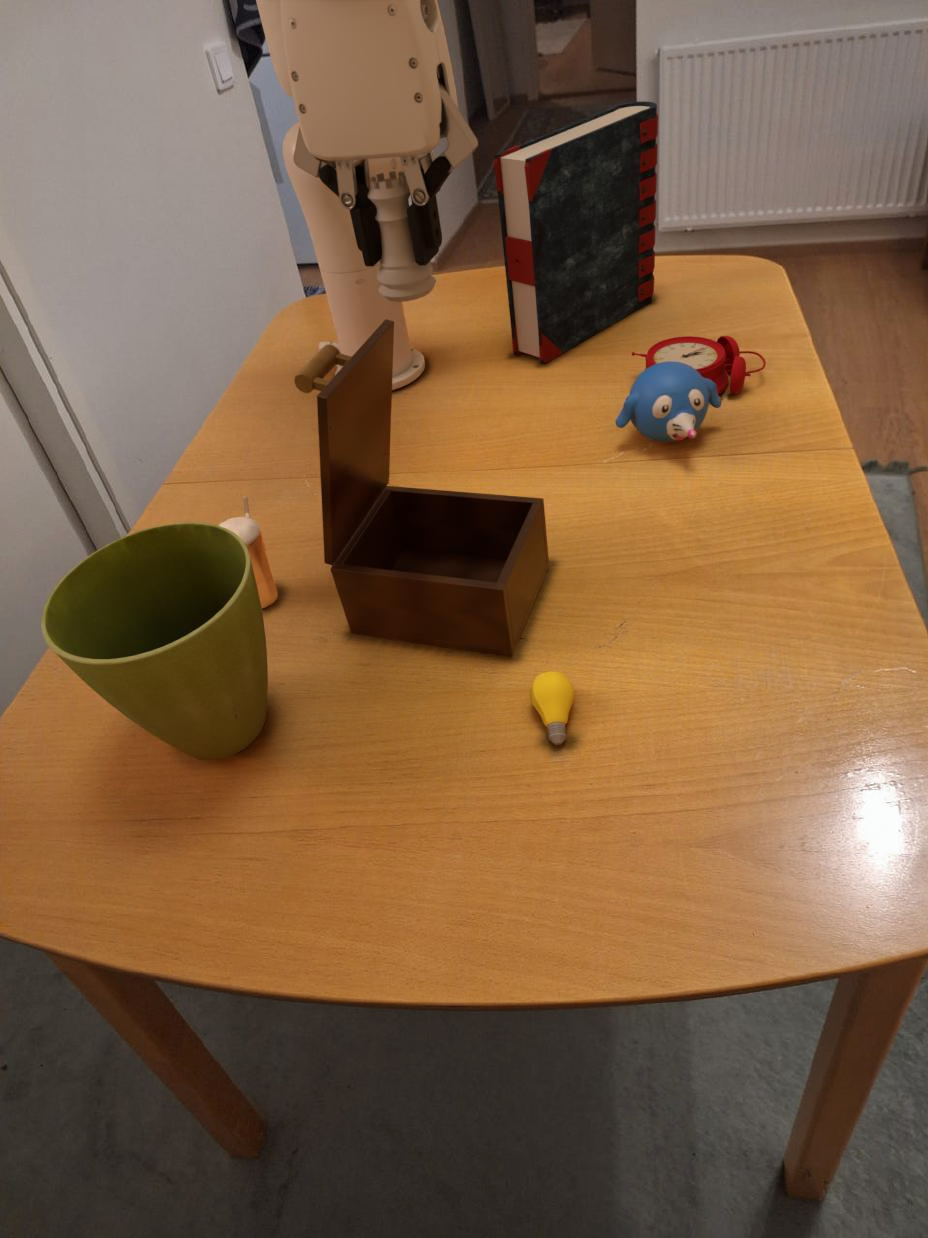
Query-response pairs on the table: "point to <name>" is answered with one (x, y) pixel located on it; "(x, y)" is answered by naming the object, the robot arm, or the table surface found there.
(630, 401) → the blue dog toy
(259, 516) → the table surface
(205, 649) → the flower pot
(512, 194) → the book
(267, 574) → the milkshake
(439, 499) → the chest
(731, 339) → the alarm clock
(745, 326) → the table surface
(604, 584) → the table surface
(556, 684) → the light bulb
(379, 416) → the lid
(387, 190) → the rook chess piece
